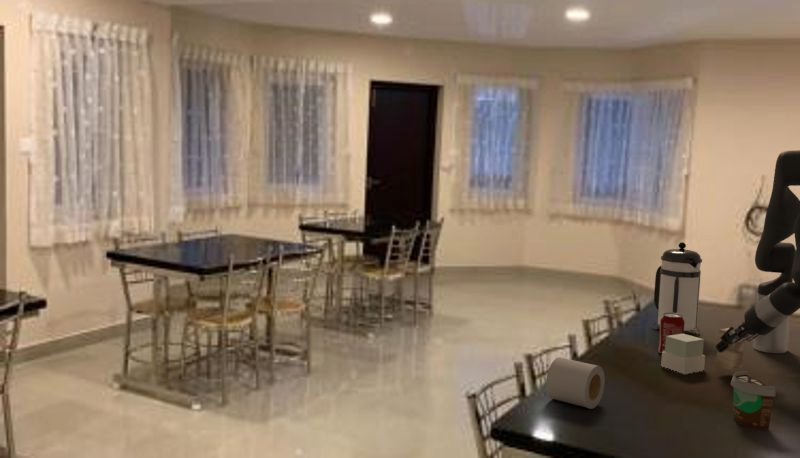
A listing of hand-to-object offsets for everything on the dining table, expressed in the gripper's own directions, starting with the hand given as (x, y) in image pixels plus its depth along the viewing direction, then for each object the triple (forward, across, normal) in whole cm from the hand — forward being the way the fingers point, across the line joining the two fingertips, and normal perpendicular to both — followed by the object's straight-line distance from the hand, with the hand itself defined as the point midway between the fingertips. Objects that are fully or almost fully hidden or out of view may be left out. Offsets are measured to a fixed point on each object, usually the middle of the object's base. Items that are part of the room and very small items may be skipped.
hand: (724, 348), depth 214 cm
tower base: (+11, +6, 0) cm, 13 cm away
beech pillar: (+2, 0, +5) cm, 5 cm away
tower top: (+8, +6, -4) cm, 11 cm away
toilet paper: (+5, +54, +5) cm, 55 cm away
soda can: (+19, -3, -9) cm, 22 cm away
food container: (-14, +28, +24) cm, 40 cm away
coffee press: (+34, -28, -23) cm, 49 cm away
